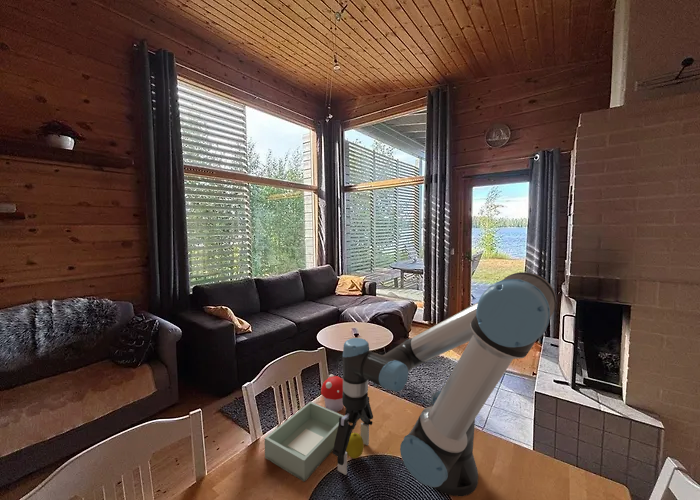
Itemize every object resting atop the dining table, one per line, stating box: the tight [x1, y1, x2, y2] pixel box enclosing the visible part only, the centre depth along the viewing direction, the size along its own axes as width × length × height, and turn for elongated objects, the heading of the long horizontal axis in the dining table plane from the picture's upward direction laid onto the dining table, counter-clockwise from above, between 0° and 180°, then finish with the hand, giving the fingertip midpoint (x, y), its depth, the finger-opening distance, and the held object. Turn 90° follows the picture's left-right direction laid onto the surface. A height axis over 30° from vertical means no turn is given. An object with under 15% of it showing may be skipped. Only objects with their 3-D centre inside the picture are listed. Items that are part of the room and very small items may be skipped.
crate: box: [264, 401, 345, 482], centre depth 97 cm, size 16×22×6 cm
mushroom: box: [320, 373, 344, 413], centre depth 117 cm, size 11×11×12 cm
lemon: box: [346, 432, 365, 459], centre depth 92 cm, size 6×6×8 cm
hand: (354, 456), depth 93 cm, fingers open, 12 cm apart
